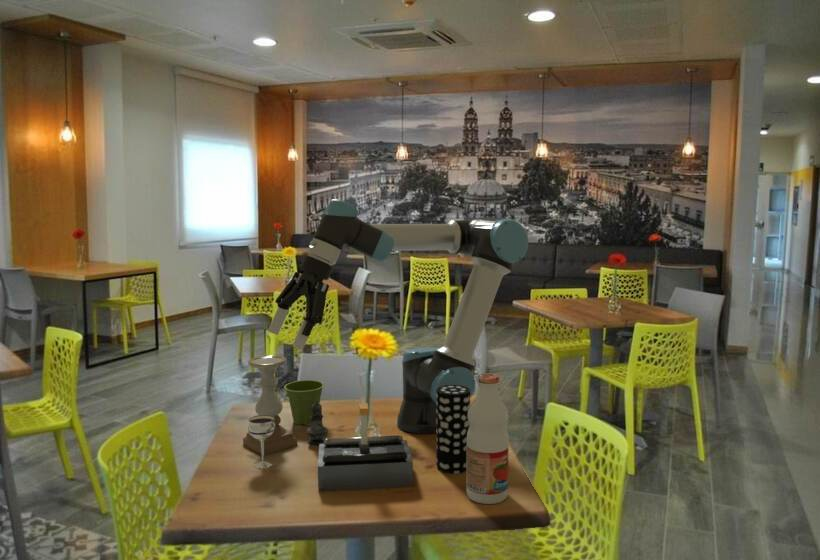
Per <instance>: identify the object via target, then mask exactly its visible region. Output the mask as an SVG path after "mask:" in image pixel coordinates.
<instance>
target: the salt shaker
mask: <svg viewBox="0 0 820 560" xmlns="http://www.w3.org/2000/svg"><path fill="white" fill-rule="evenodd" d="M322 409H323V408H322V404H321V403H320V404H319V403H317V400H316V403H315V404H313V405H312V406H311V412H312V415H311V416H310V418H311V423H312V424H310V426H309V427H308V428H307V429H306V433H307V436H308V438H309V440H308V441H307V445H309V444H310V445H309V446H312V445H314V447H319V444H324V440H325V439H326V438H325V437H326V436H327V433H328V430H329V429H328V427H326V426H324V424H323V418H324V415H323V410H322ZM315 445H316V446H315Z"/></svg>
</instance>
